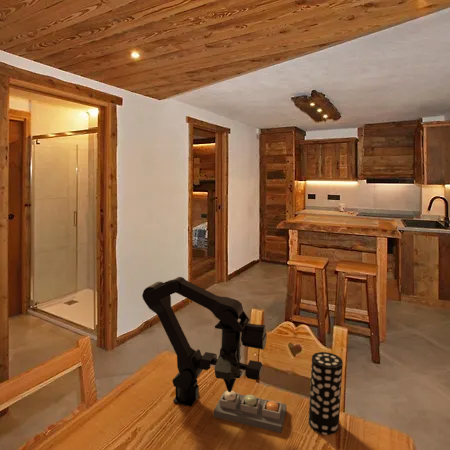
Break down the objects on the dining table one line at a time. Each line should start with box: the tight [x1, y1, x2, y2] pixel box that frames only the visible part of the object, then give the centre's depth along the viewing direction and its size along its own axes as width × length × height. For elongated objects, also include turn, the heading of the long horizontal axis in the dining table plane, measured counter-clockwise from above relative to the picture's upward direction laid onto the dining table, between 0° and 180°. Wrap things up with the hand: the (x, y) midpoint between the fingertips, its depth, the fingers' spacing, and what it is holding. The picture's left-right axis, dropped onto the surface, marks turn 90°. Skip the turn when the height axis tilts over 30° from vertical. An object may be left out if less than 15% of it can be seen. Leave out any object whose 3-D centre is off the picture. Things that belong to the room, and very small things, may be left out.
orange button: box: [266, 400, 278, 412], centre depth 101 cm, size 3×3×2 cm
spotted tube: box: [308, 351, 344, 436], centre depth 98 cm, size 8×8×20 cm
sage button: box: [245, 394, 257, 407], centre depth 103 cm, size 3×3×2 cm
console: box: [213, 390, 287, 434], centre depth 103 cm, size 20×10×4 cm, turn 72°
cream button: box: [224, 390, 237, 402], centre depth 105 cm, size 3×3×2 cm
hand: (229, 391), depth 105 cm, fingers closed
